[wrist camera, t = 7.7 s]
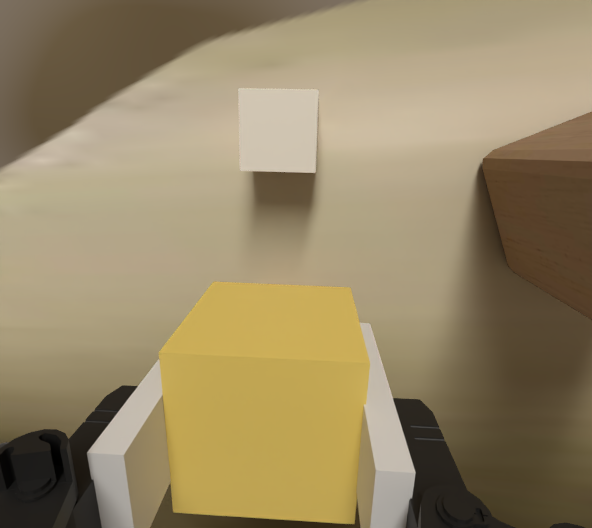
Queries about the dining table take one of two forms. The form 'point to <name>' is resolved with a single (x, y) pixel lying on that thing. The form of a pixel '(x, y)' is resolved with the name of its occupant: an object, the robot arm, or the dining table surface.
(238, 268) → the dining table surface
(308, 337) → the mustard cube
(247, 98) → the cream cube
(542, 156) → the wooden block
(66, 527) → the robot arm
